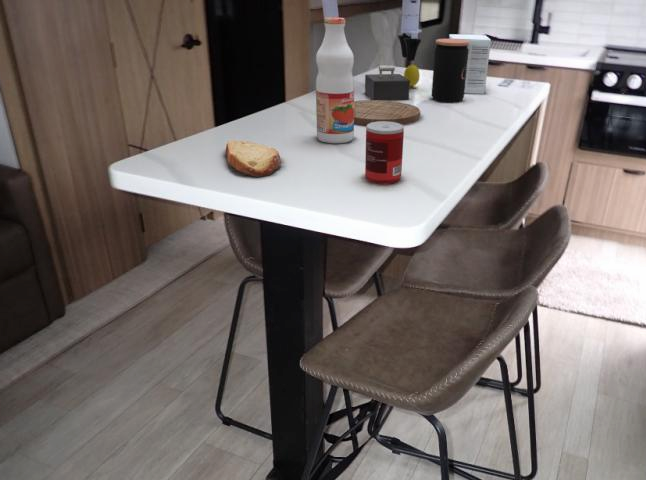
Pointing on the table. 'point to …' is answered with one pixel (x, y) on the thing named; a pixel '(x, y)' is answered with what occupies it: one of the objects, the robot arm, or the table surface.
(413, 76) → the lemon
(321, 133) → the fruit juice
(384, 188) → the table surface
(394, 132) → the canned food
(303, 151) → the table surface
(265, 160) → the bread slice
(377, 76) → the dark grey box lid
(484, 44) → the supplement box
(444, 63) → the coffee jar
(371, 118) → the trivet
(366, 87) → the dark grey square box
